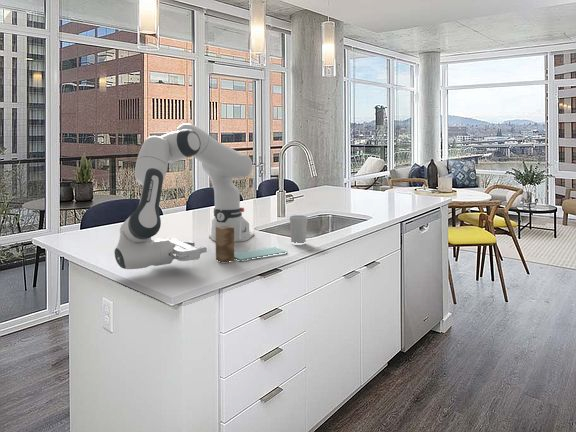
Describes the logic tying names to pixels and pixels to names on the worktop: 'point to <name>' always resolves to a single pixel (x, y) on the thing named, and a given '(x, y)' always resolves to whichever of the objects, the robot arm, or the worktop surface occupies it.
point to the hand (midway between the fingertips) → (199, 246)
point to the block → (225, 243)
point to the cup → (298, 228)
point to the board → (257, 253)
